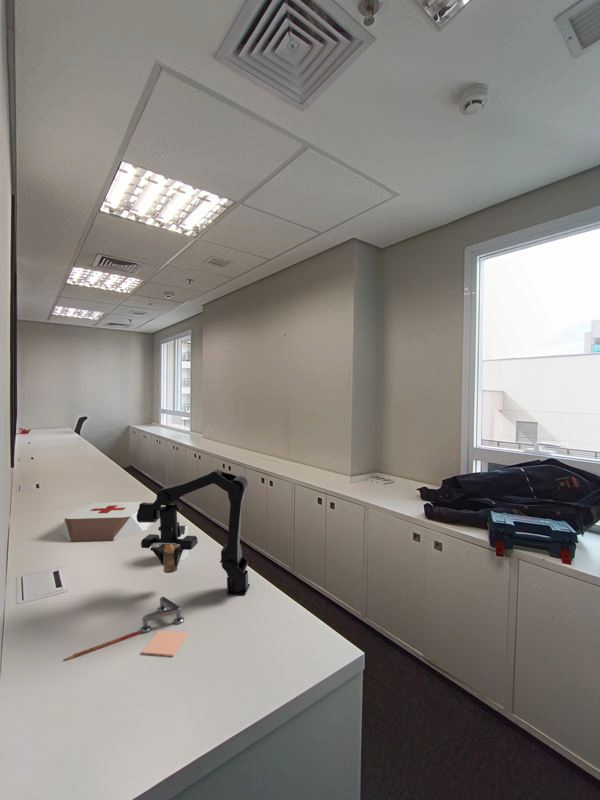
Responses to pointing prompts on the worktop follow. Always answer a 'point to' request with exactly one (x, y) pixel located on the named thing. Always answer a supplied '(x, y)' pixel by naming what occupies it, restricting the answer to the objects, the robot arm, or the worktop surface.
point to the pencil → (102, 645)
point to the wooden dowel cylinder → (169, 562)
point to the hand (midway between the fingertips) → (170, 565)
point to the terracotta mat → (165, 643)
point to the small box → (172, 547)
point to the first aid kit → (103, 522)
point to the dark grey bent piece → (162, 614)
